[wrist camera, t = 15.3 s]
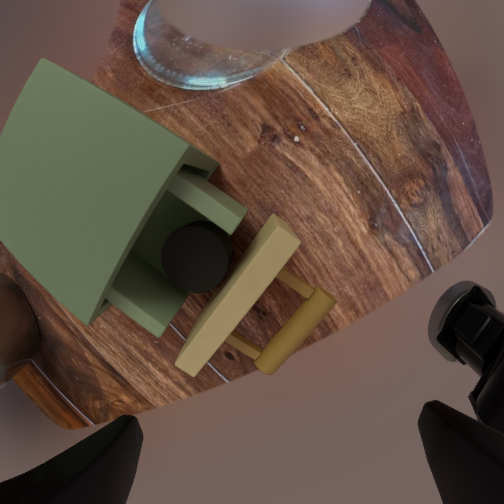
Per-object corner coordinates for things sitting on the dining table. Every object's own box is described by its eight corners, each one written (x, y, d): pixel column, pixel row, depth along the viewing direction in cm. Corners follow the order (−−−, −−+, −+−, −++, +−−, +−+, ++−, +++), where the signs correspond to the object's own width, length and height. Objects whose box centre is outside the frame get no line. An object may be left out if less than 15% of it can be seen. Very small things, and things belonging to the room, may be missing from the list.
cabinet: (220, 163, 18) (190, 145, 10) (145, 278, 20) (87, 326, 12) (108, 91, 17) (41, 57, 9) (49, 199, 19) (-25, 209, 11)
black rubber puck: (245, 243, 17) (242, 252, 15) (211, 290, 18) (203, 306, 15) (195, 208, 17) (184, 211, 14) (163, 256, 18) (149, 267, 15)
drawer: (336, 260, 18) (369, 294, 12) (259, 353, 20) (257, 413, 14) (166, 138, 17) (122, 118, 11) (104, 243, 19) (49, 266, 13)
